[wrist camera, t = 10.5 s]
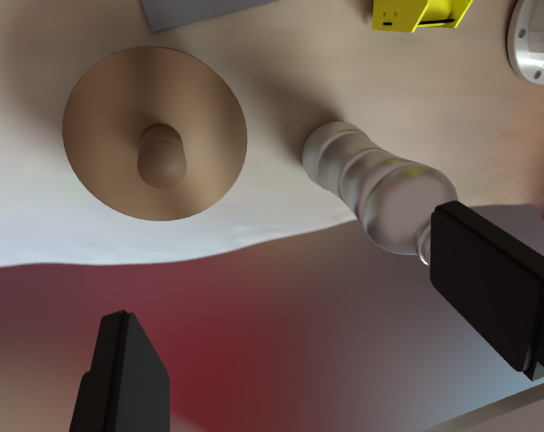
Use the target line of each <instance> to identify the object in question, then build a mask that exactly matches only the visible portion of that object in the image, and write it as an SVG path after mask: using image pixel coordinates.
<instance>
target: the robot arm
mask: <svg viewBox="0 0 544 432" xmlns="http://www.w3.org/2000/svg"><path fill="white" fill-rule="evenodd" d="M508 55H509V61H510V63H511V65H512V68H513V70H514V71H515V72H516V74H517V75H518V76H519V77H520V78H522V79H523V80H524V81H527V82H530V83H535V84H542V85H544V0H518V2H517V4H516V6H515V9H514V11H513V14H512V18H511V21H510V25H509V31H508ZM430 280H431V282H432V284H433V286H434V287H435V289H436V290H437V291H438V292H439V293H440V294H441V295H442V296H443V297H444V298H445V299H446V300H447V301H448V302H449V303H450V304H451V305H452V306H453V307H454V308H455V309H456V310H457V311H458V312H459V313H460V314H461V315H462V316H463V317H464V318H465V319H466V320H467V321H468V323H469V324H470V325H472V327H473V328H474V329H476V331H477V332H478V333H479V334H480V335H481V336H482V337H483V338H484V339H485V340H486V341H487V342H488V343H489V344H490V345H491V346H492V347H493V348H494V349H495V350H496V351H497V352H498V353H499V354H500V355H501V356H502V357H503V359H504V360H506V361H507V363H508V364H509V365H510V366H511V367H513V369H515V370H516V371H518V372H523V373H524V374H525V375H526V376H527V377H528V378H529V379H530V380H531V381H534V380H537V379H540V378H542V377H544V256H542V255H541V254H539V253H538V252H536V251H534V250H533V249H531V248H530V247H528V246H527V245H525V244H524V243H522V242H521V241H519V240H517V239H516V238H514V237H513V236H511V235H510V234H508V233H507V232H505V231H504V230H502V229H500V228H499V227H497V226H496V225H494V224H493V223H491V222H489V221H488V220H487V219H485V218H483V217H482V216H480V215H479V214H477V213H476V212H474V211H473V210H471V209H470V208H468V207H466V206H465V205H463V204H462V203H460V202H459V201H456V200H453V201H450V202H447V203H444V204H441V205H438V206H436V207H435V210H434V212H432V214H431V230H430ZM69 432H170V381H169V375H168V372H167V370H166V368H165V366H164V364H163V363H162V361H161V359H160V358H159V356H158V354H157V352H156V351H155V349H154V347H153V345H152V344H151V342H150V340H149V339H148V337H147V335H146V333H145V332H144V330H143V328H142V326H141V325H140V323H139V321H138V319H137V318H136V316H135V315H134V313H132V312H131V313H127V312H126V311H125V310H121V311H118V312H115V313H112V314H109V315H106V316H104V317H102V319H101V323H100V328H99V332H98V337H97V341H96V346H95V351H94V355H93V360H92V364H91V369H90V371H88V372H86V373H85V374H84V375H83V377H82V380H81V383H80V387H79V391H78V396H77V400H76V404H75V409H74V412H73V417H72V421H71V425H70V429H69ZM420 432H544V383H543V384H540V385H537V386H535V387H532V388H529V389H527V390H524V391H522V392H519V393H517V394H514V395H512V396H509V397H506V398H504V399H501V400H499V401H496V402H493V403H491V404H488V405H486V406H483V407H481V408H478V409H476V410H473V411H471V412H468V413H465V414H463V415H460V416H458V417H455V418H453V419H450V420H447V421H445V422H442V423H440V424H437V425H435V426H432V427H430V428H427V429H425V430H422V431H420Z"/></svg>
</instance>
